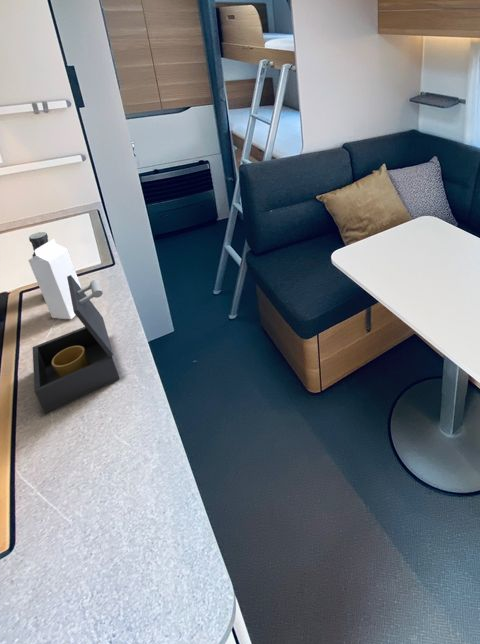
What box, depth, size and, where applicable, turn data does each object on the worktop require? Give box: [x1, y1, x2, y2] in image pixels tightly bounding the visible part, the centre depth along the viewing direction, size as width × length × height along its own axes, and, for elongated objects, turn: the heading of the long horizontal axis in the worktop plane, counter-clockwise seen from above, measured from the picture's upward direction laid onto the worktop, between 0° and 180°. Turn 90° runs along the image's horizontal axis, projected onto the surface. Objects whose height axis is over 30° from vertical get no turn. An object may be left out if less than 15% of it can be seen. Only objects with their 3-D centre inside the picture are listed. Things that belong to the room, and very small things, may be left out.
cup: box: [52, 346, 90, 379], centre depth 93 cm, size 6×6×5 cm
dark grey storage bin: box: [32, 326, 120, 415], centre depth 94 cm, size 14×16×6 cm
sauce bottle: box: [28, 231, 50, 258], centre depth 119 cm, size 6×6×20 cm
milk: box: [28, 238, 83, 320], centre depth 111 cm, size 6×6×22 cm
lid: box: [67, 275, 114, 357], centre depth 94 cm, size 15×16×5 cm
